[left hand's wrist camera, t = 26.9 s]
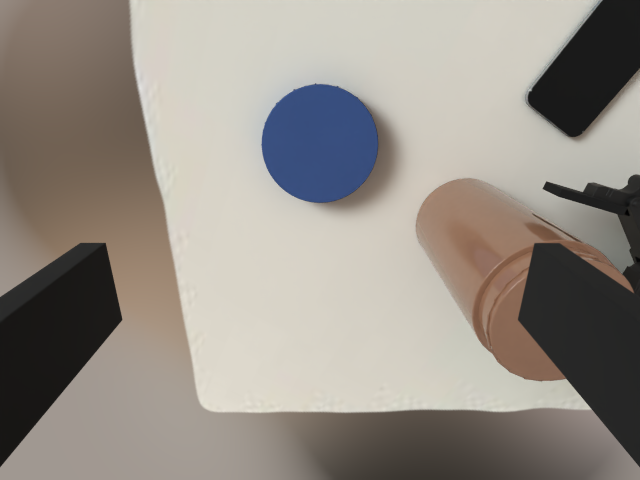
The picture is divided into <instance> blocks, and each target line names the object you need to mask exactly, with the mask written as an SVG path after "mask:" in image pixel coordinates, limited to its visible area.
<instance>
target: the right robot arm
mask: <svg viewBox="0 0 640 480" xmlns="http://www.w3.org/2000/svg"><path fill="white" fill-rule="evenodd" d="M543 189H544V190H546V191H548V192H550V193H552V194H554V195H556V196H558V197H562V198H565V199H568V200H572V201H575V202H579V203H582V204H585V205H589V206H592V207H595V208H599V209H602V210H606V211H609V212H612V213H616V214H618V217H619V219H620V222H621V224H622V227H623V229H624V232H625V234H626V236H627V239H628V241H629V244H630V246H631V249H630V253H631V256H632V258H633V261H634V263H635V264H633V265H632V266H631V267H628V266H627V268H626V269H625V271H624V272H623V275H624V276H625V278H626V279H627V280H628V281H629V283H630V285H631V287H632V288H633V291H634V294H636V295H637V296H639V297H640V175H633V176H631V177H630V178H629V180H628V185H627V186H626V187H625V188H623V189H620V190H618V189H613V188H610V187H607V186H603V185H600V184H597V183H588V184H587V186H586V188H585V190H584V191H583V192H580V191H577V190H573V189H570V188H567V187H563V186H560V185H557V184H553V183H550V182H547V181H546V183H545V185H544V187H543Z"/></svg>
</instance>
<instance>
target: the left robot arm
mask: <svg viewBox="0 0 640 480" xmlns="http://www.w3.org/2000/svg"><path fill="white" fill-rule="evenodd" d="M121 321H122V316H121V311H120V307H119V302H118V298H117V293H116V288H115V284H114V279H113V275H112V270H111V266H110V261H109V257H108V252H107V247H106V243H80V244H78V245H77V246H75V247H74V248H72V249H71V250H69V251H68V252H66V253H65V254H63V255H62V256H61V257H59V258H58V259H56V260H55V261H53V262H52V263H50V264H49V265H47V266H46V267H44V268H43V269H41V270H40V271H38V272H37V273H35V274H34V275H32V276H31V277H29V278H28V279H26V280H25V281H23V282H22V283H21V284H19V285H17V286H16V287H15V288H13V289H12V290H10V291H9V292H7V293H6V294H4V295H3V296H1V297H0V467H1V466H2V464H3V463H4V462H5V461H6V459H7V458H8V457H9V456H10V455H11V453H12V452H13V451H14V450H15V449H16V447H17V446H18V445H19V444H20V443H21V441H22V440H23V439H24V438H25V437H26V435H27V434H28V433H29V432H30V430H31V429H32V428H33V427H34V426H35V425H36V423H37V422H38V421H39V420H40V418H41V417H42V416H43V415H44V414H45V412H46V411H47V410H48V409H49V408H50V406H51V405H52V404H53V403H54V402H55V400H56V399H57V398H58V397H59V396H60V394H61V393H62V392H63V391H64V390H65V388H66V387H67V386H68V385H69V384H70V382H71V381H72V380H73V379H74V377H75V376H76V375H77V374H78V373H79V371H80V370H81V369H82V368H83V367H84V365H85V364H86V363H87V362H88V361H89V359H90V358H91V357H92V356H93V355H94V353H95V352H96V351H97V350H98V349H99V347H100V346H101V345H102V344H103V343H104V341H105V340H106V339H107V338H108V337H109V335H110V334H111V333H112V332H113V330H114V329H115V328H116V327H117V326H118V324H119V323H120V322H121ZM518 321H519V322H520V323H521V324H522V326H523V327H524V328H525V329H526V331H527V332H528V333H529V334H530V335H531V337H532V338H533V339H534V340H535V341H536V343H537V344H538V345H539V346H540V347H541V349H542V350H543V351H544V352H545V353H546V355H547V356H548V357H549V358H550V359H551V361H552V362H553V363H554V364H555V365H556V367H557V368H558V369H559V370H560V371H561V373H562V374H563V375H564V376H565V378H566V379H567V380H568V381H569V382H570V384H571V385H572V386H573V387H574V388H575V390H576V391H577V392H578V393H579V394H580V396H581V397H582V398H583V399H584V400H585V402H586V403H587V404H588V405H589V406H590V408H591V409H592V410H593V411H594V412H595V414H596V415H597V416H598V417H599V418H600V420H601V421H602V422H603V423H604V425H605V426H606V427H607V428H608V429H609V431H610V432H611V433H612V434H613V435H614V437H615V438H616V439H617V440H618V441H619V443H620V444H621V445H622V446H623V447H624V449H625V450H626V451H627V452H628V453H629V455H630V456H631V457H632V458H633V459H634V461H635V462H636V463H637V464H638V466H639V467H640V297H639V296H637V295H636V294H634V293H633V292H631V291H630V290H628V289H627V288H625V287H624V286H623V285H621V284H620V283H618V282H617V281H615V280H614V279H612V278H611V277H609V276H608V275H606V274H605V273H603V272H602V271H600V270H599V269H597V268H596V267H594V266H593V265H591V264H590V263H588V262H587V261H585V260H584V259H582V258H581V257H579V256H578V255H577V254H575V253H574V252H572V251H571V250H569V249H568V248H566V247H565V246H563V245H562V244H560V243H534V247H533V252H532V256H531V261H530V266H529V270H528V275H527V279H526V284H525V288H524V293H523V298H522V302H521V307H520V311H519V316H518Z"/></svg>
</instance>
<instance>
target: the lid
mask: <svg viewBox="0 0 640 480" xmlns="http://www.w3.org/2000/svg"><path fill="white" fill-rule="evenodd" d="M377 151H378V135H377V130H376V127H375V123H374V121H373V118H372V115H371V114H370V113H369V111H368V110H367V108H366V107H365V106H364V104H363V103H362V102H361V101H360V100H359V99H358V97H355V96H354V95H352V94H351V93H349V92H347V91H345V90H344V89H341V88H338V86H337V87H335V86H331V85H324V84H315V85H309V86H304V87H302V88H299V89H294V91H293V92H291V93H289V94H288V95H286V96H285V97H283V98H282V99H281V100H280V101H279V102H278V103H276V106H275V107H274V108H273V109H272V111H271V113H270V114H269V116H268V118H267V121H266V122H265V126H264V130H263V135H262V152H263V157H264V161H265V164H266V167H267V169H268V171H269V173H270V175H271V176H272V178H273V179H274V180H275V182H276V183H277V184H278V185H279V186H280V187H281V188H282V189H284V190H285V191H286V192H287V193H289V194H291V195H292V196H294V197H296V198H298V199H301V200H304V201H309V202H317V203H323V202H331V201H335V200H338V199H341V198H343V197H346V196H348V195H349V194H351V193H352V192H354V191H355V190H356V189H358V188H359V187H360V186H361V185H362V184H363V183H364V181H365V180H366V179H367V177H368V176H369V174H370V172H371V171H372V169H373V166H374V164H375V161H376V157H377Z"/></svg>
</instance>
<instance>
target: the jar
mask: <svg viewBox="0 0 640 480" xmlns="http://www.w3.org/2000/svg"><path fill="white" fill-rule="evenodd" d="M416 233H417V238H418V241H419V243H420V245H421V247H422V248H423V250H424V251H425V253H426V255H427V256H428V258H429V260H430V261H431V263H432V264H433V266H434V268H435V269H436V271H437V273H438V274H439V276H440V277H441V279H442V281H443V282H444V284H445V286H446V287H447V289H448V291H449V292H450V294H451V295H452V297H453V299H454V300H455V302H456V304H457V305H458V307H459V308H460V310H461V312H462V313H463V315H464V317H465V318H466V320H467V321H468V323H469V325H470V326H471V328H472V330H473V331H474V333H475V334H476V336H477V338H478V339H479V341H480V342H481V343H482V345H483V346H484V347H485V348H486V349H487V350H488V351H489V352H491V353H492V354H493V355H494V357H495V358H496V360H497V362H498V363H500V364H501V365H502V366H503V367H505V368H506V369H507V370H508V371H509V372H511V373H513V374H515V375H518V376H520V377H523V378H524V379H528V380H536V381H553V380H562V379H566V378H565V376H564V375H563V374H562V373H561V371H560V370H559V369H558V368H557V367H556V365H555V364H554V363H553V362H552V361H551V359H550V358H549V357H548V356H547V355H546V353H545V352H544V351H543V350H542V349H541V347H540V346H539V345H538V344H537V343H536V341H535V340H534V339H533V338H532V337H531V335H530V334H529V333H528V332H527V331H526V329H525V328H524V327H523V326H522V324H521V323H520V322H519V321H518V316H519V311H520V307H521V302H522V298H523V293H524V288H525V284H526V279H527V275H528V270H529V266H530V261H531V256H532V252H533V247H534V243H560V244H562V245H563V246H565V247H566V248H568V249H569V250H571V251H572V252H574V253H575V254H577V255H578V256H579V257H581V258H582V259H584V260H585V261H587V262H588V263H590V264H591V265H593V266H594V267H596V268H597V269H599V270H600V271H602V272H603V273H605V274H606V275H608V276H609V277H611V278H612V279H614V280H615V281H617V282H618V283H620V284H621V285H623V286H624V287H625V288H627V289H628V290H630V291H631V292H633V293H634V291H633V288H632V287H631V285H630V283H629V281H628V280H627V279H626V278H625V276H624V275H623V274H621V273H620V272H619V271H618V270H617V269H616V268H615V267H614V266H613V264H612V263H611V262H610V261H609V260H608V259H607V257H606V256H605V255H603V254H602V253H601V252H600V251H598V250H597V249H595V248H594V247H592V246H590V245H589V244H587V243H585V242H584V241H582V240H580V239H579V238H577V237H575V236H574V235H572V234H570V233H569V232H567V231H566V230H564V229H562V228H561V227H559V226H557V225H556V224H554V223H552V222H551V221H549V220H547V219H546V218H544V217H542V216H541V215H539V214H538V213H536V212H534V211H533V210H531V209H529V208H528V207H526V206H524V205H523V204H521V203H519V202H518V201H516V200H514V199H513V198H511V197H510V196H508V195H506V194H505V193H503V192H501V191H500V190H498V189H496V188H495V187H493V186H491V185H490V184H488V183H486V182H484V181H481V180H477V179H458V180H454V181H451V182H448V183H446V184H444V185H442V186H440V187H439V188H437V189H436V190H434V191H433V192H432V193H431V194H430V195H429V196H428V197H427V198H426V200H425V201H424V203H423V204H422V206H421V208H420V210H419V213H418V216H417V220H416Z"/></svg>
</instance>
